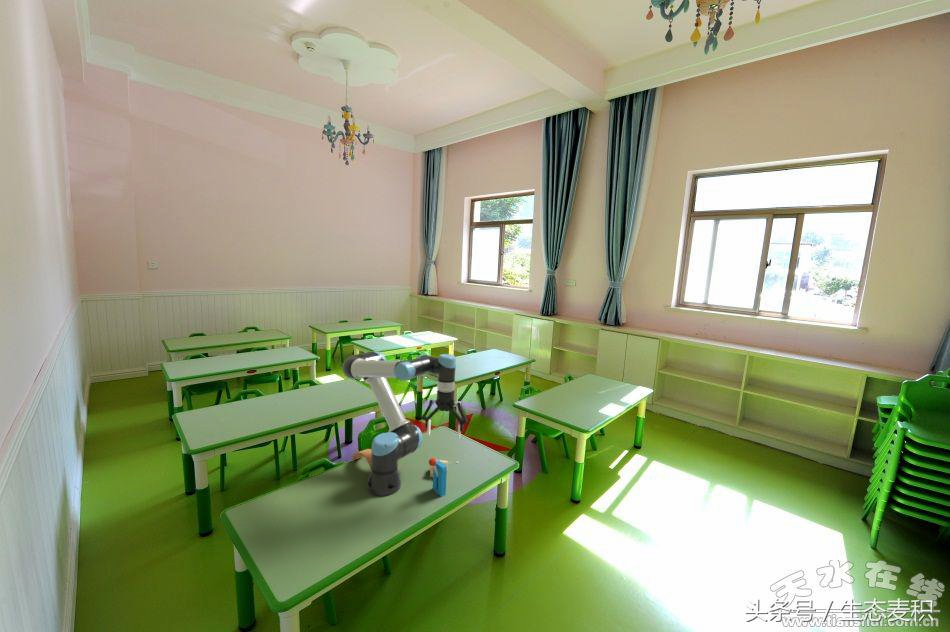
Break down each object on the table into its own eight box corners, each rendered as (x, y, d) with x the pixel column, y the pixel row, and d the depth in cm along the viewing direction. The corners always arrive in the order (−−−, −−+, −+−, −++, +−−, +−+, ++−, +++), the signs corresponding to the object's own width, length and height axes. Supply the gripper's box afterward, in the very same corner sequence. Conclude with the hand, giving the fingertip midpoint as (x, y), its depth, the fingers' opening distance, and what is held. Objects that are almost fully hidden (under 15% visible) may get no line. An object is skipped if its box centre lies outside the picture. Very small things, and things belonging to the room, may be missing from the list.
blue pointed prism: (423, 494, 173) (425, 456, 171) (436, 489, 177) (438, 452, 175) (432, 502, 168) (433, 462, 165) (445, 496, 172) (447, 458, 170)
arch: (372, 481, 181) (372, 461, 180) (351, 465, 195) (351, 446, 194) (383, 477, 185) (383, 457, 184) (361, 461, 199) (362, 443, 198)
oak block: (433, 472, 192) (433, 459, 191) (447, 474, 191) (447, 460, 190) (429, 480, 185) (430, 466, 184) (444, 481, 184) (444, 468, 183)
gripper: (415, 390, 167) (414, 437, 169) (473, 395, 164) (470, 442, 167) (420, 385, 174) (418, 430, 177) (475, 389, 172) (472, 435, 174)
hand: (443, 436), depth 172 cm, fingers open, 13 cm apart
